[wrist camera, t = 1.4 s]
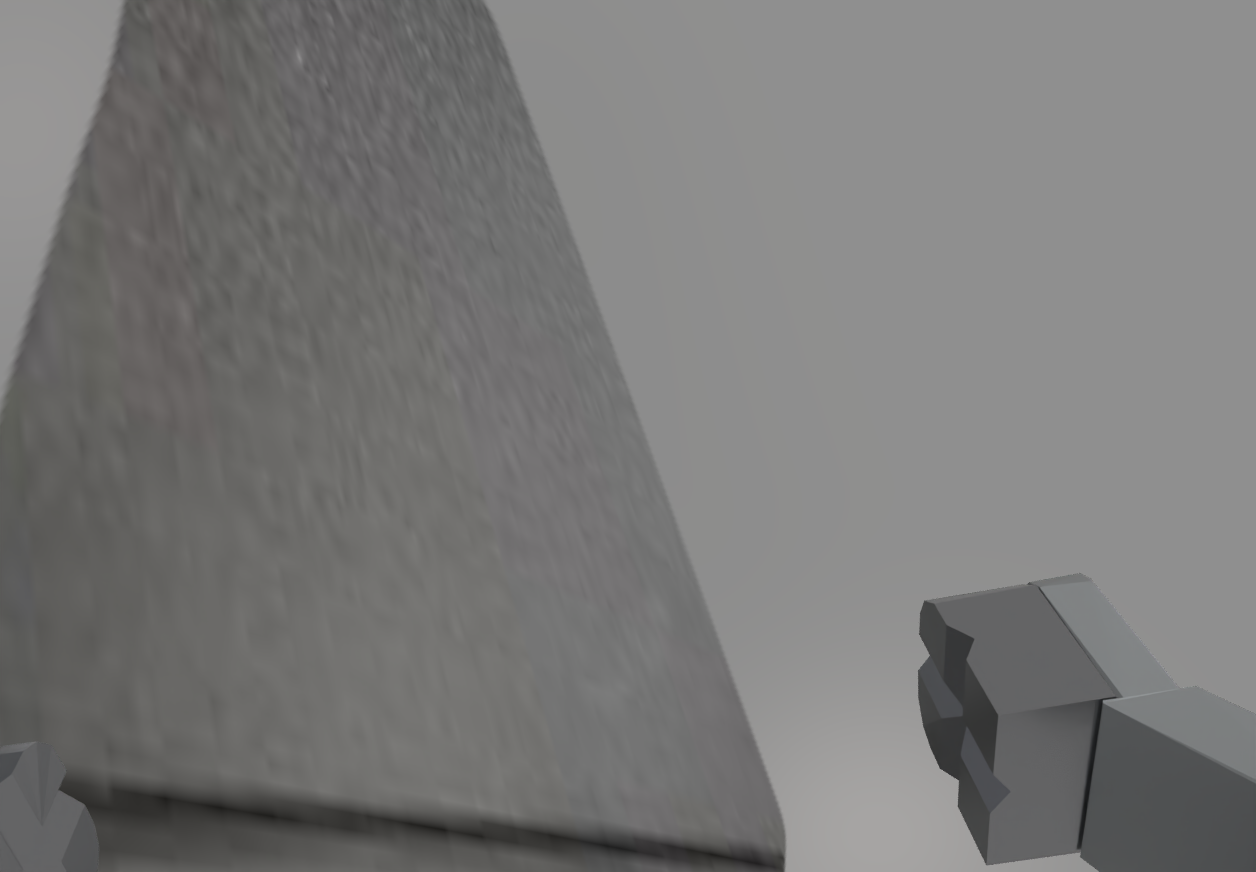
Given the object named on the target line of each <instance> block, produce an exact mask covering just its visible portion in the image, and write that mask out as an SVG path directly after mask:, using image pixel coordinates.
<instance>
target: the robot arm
mask: <svg viewBox="0 0 1256 872" xmlns="http://www.w3.org/2000/svg"><path fill="white" fill-rule="evenodd" d="M919 632H920V633H919V635H920V637H921V639H922V641H923V642H924V644H925V646H926V648H927V650H928V652H929V654H930V656H929V658H928V659H927V660H926V661H925V663H924V664H923V665H922V666H921V668H920V669H919V670H918V689H919V690H918V698H919V703H920V710H921V716H922V721H923V727H924V730H925V733H926V736H927V738H928V741H929V744H930V748H931V750H932V752H933V754H934V756H935V759H936V761H937V763H938V765H939V767H940V769H942V770H943V771H945V772H946V773H948V774H949V775H951V776H953V777H954V778H956V779H958V780H959V793H958V808H959V809H960V812H961V814H962V816H963V818H964V820H965V822H966V824H967V826H968V828H969V830H970V832H971V834H972V836H973V839H974V841H975V843H976V845H977V847H978V849H979V851H980V853H981V855H982V857H983V859H984V861H985V863H986V865H993V864H1000V863H1007V862H1014V861H1021V860H1028V859H1035V858H1042V857H1050V856H1057V855H1064V854H1072V853H1079V852H1081V855H1080V857H1081V858H1082V859H1083V860H1085V861H1086V862H1087V863H1089V864H1090V865H1091V866H1093V867H1094V868H1095V869H1097V870H1098V871H1099V872H1256V714H1255V713H1253V712H1251V711H1248V710H1246V709H1244V708H1242V707H1240V706H1237V705H1236V704H1233V703H1231V702H1229V701H1227V700H1225V699H1223V698H1221V697H1218V696H1216V695H1214V694H1212V693H1210V692H1208V691H1206V690H1203V689H1201V688H1199V687H1197V686H1193V687H1186V688H1179V687H1178V685H1177V684H1176V683H1175V682H1174V680H1173V679H1172V678H1171V677H1170V676H1169V674H1168V673H1167V672H1166V670H1165V669H1164V668H1163V667H1162V666H1161V664H1160V663H1159V662H1158V661H1157V659H1156V658H1155V657H1154V656H1153V654H1152V653H1151V652H1150V651H1149V650H1148V648H1147V647H1146V646H1145V645H1144V643H1143V642H1142V641H1141V640H1140V639H1139V637H1138V636H1137V635H1136V634H1135V632H1134V631H1133V630H1132V629H1131V628H1130V626H1129V625H1128V624H1127V623H1126V621H1125V620H1124V619H1123V618H1122V616H1121V615H1120V614H1119V613H1118V611H1117V610H1116V609H1115V608H1114V606H1113V605H1112V604H1111V603H1110V602H1109V600H1108V599H1107V598H1106V596H1105V595H1104V594H1103V593H1102V592H1101V590H1100V589H1099V588H1098V587H1097V585H1096V584H1095V583H1094V582H1093V580H1092V579H1091V578H1089V577H1087V576H1085V575H1083V574H1081V573H1079V574H1073V575H1068V576H1062V577H1056V578H1051V579H1045V580H1039V581H1034V582H1029V583H1028V584H1027V585H1017V586H1011V587H1005V588H998V589H992V590H987V591H981V592H975V593H968V594H963V595H956V596H950V597H944V598H939V599H932V600H926V601H924V603H923V606H922V610H921V612H920V631H919ZM66 771H67V770H66V768H65V766H64V765H63V763H62V761H61V760H60V758H59V756H58V755H57V753H56V751H55V750H54V748H53V746H52V745H50V744H46V743H41V742H37V741H36V742H29V743H21V744H14V745H7V746H0V872H98V859H99V844H98V839H97V835H96V830H95V825H94V822H93V820H92V818H91V816H90V814H89V812H88V810H87V808H86V806H85V805H84V804H83V803H81V802H79V801H77V800H75V799H74V798H72V797H70V796H68V795H67V794H65V793H63V792H61V791H59V788H60V786H61V783H62V781H63V779H64V776H65V774H66Z"/></svg>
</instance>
